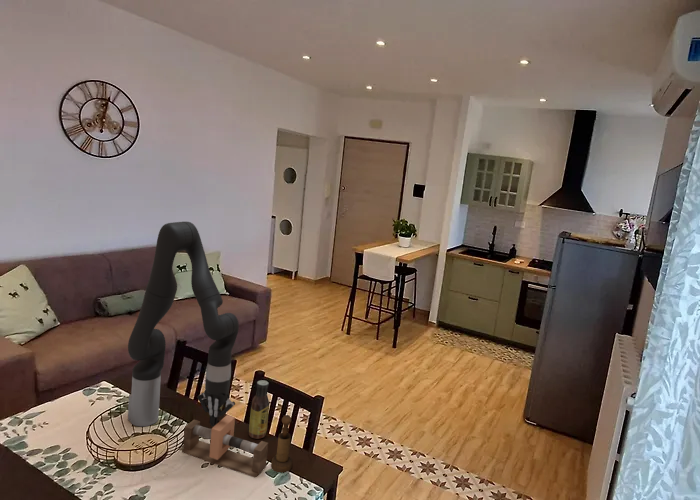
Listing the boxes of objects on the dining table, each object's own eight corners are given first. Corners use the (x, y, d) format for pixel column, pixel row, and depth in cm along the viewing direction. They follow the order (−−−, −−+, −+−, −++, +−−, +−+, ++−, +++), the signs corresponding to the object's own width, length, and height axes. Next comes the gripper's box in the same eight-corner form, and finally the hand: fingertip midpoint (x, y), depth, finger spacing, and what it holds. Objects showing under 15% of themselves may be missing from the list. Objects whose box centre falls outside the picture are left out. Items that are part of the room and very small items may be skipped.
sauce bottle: (262, 441, 167) (267, 389, 163) (245, 437, 168) (250, 385, 164) (269, 431, 173) (274, 380, 169) (252, 427, 174) (257, 377, 170)
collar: (209, 457, 151) (211, 428, 149) (224, 442, 160) (227, 414, 158) (217, 459, 150) (220, 431, 149) (232, 444, 159) (235, 417, 157)
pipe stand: (181, 452, 156) (182, 428, 154) (194, 441, 162) (195, 417, 161) (256, 478, 148) (259, 453, 147) (267, 465, 155) (269, 441, 153)
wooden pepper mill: (274, 474, 151) (280, 423, 147) (268, 462, 156) (273, 412, 153) (294, 470, 154) (300, 420, 150) (287, 458, 160) (293, 409, 156)
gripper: (193, 375, 149) (189, 425, 153) (230, 385, 146) (226, 437, 149) (206, 366, 156) (203, 414, 160) (242, 376, 153) (238, 425, 156)
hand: (214, 425), depth 154 cm, fingers closed
